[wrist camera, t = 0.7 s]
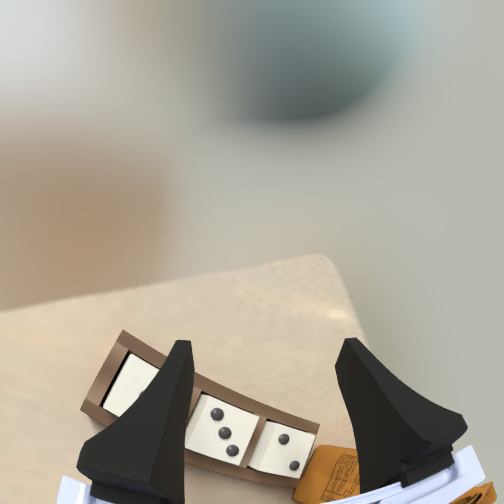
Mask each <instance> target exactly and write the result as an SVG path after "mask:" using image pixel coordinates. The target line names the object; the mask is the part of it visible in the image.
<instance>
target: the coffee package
mask: <svg viewBox="0 0 504 504" xmlns="http://www.w3.org/2000/svg"><path fill="white" fill-rule="evenodd" d="M356 495H360V481H359V465H358V455H357V450H356V449H350V448H343V447H337V446H330V445H319V446H318V447H317V448H316V449H315V451H314V454H313V456H312V458H311V460H310V462H309V464H308V466H307V468H306V470H305V472H304V474H303V476H302V477H301V479H300V480H299V482H298V485H297V487H296V490H295V493H294V495H293V499H294V500H295V501H297V502H299V503H301V504H321V503H326V502H331V501H336V500H340V499H345V498H349V497H353V496H356ZM496 498H497V495H496V493H495V489H494V486H493V482H489V483H487V484H484V485H482V486H480V487H476V486H474V487H473V488H471V489H470V490H468V491H467V492H466V493H464V494H463V495H461V496H460V497H458V498H457V499H455V500H454V501H452V502H450V503H449V504H492V503H493V502H495V501H496ZM374 504H375V503H374Z"/></svg>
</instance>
